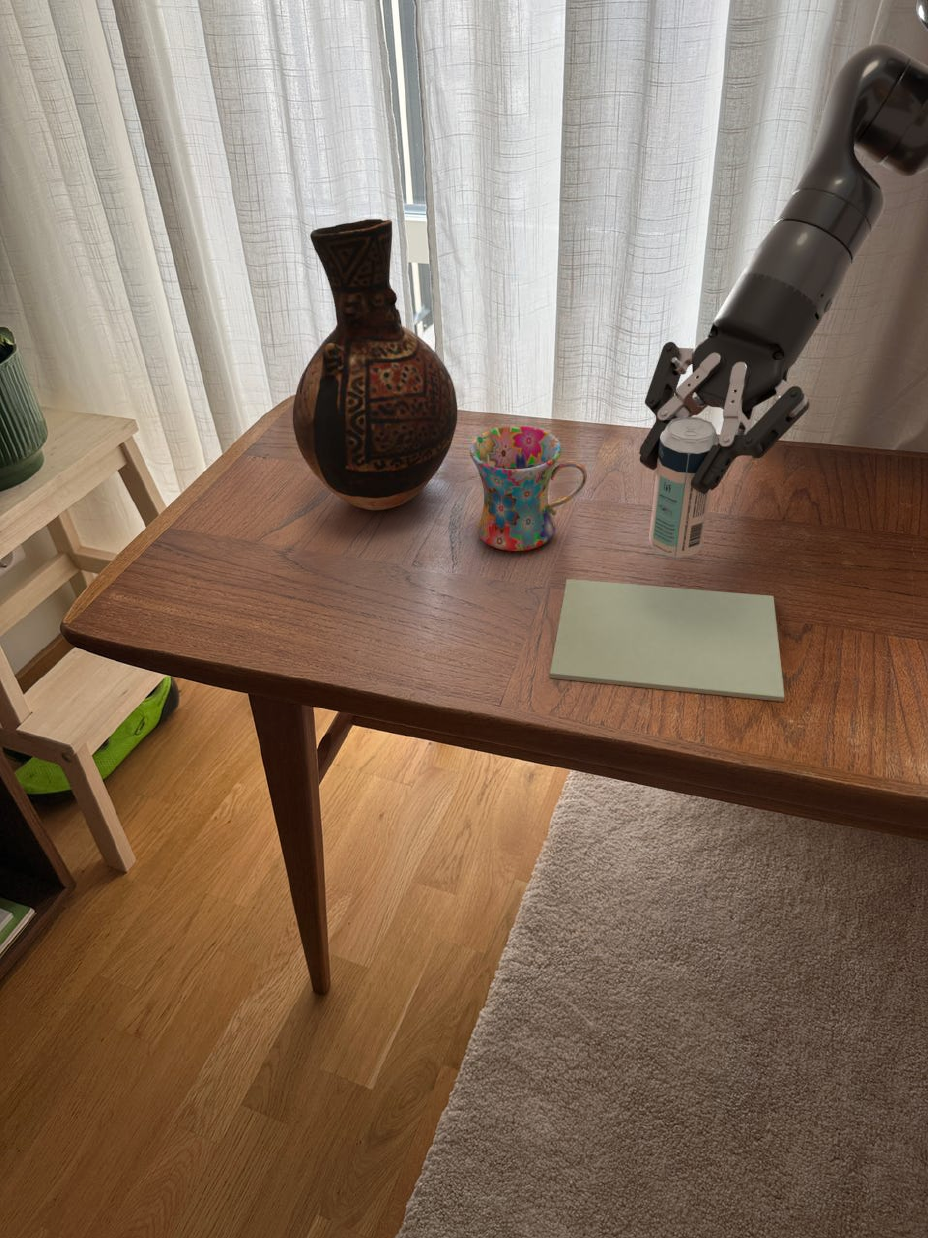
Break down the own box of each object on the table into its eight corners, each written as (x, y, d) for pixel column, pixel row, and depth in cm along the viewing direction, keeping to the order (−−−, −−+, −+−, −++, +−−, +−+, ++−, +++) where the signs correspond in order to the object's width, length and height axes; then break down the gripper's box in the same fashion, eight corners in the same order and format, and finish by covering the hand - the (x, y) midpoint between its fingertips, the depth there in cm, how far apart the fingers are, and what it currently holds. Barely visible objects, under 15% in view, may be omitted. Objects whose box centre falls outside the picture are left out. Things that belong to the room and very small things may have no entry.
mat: (772, 600, 86) (773, 595, 85) (783, 702, 75) (784, 697, 75) (566, 583, 89) (566, 578, 89) (549, 678, 79) (549, 673, 79)
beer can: (702, 534, 82) (721, 415, 74) (701, 564, 78) (720, 443, 71) (650, 529, 83) (663, 412, 75) (646, 559, 79) (659, 439, 72)
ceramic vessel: (412, 554, 94) (383, 267, 75) (274, 523, 100) (214, 249, 81) (487, 460, 109) (479, 199, 90) (363, 438, 115) (330, 189, 96)
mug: (465, 555, 94) (461, 467, 87) (482, 507, 101) (479, 423, 94) (579, 564, 92) (583, 475, 85) (587, 515, 99) (592, 429, 92)
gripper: (694, 251, 74) (588, 431, 76) (851, 293, 65) (727, 495, 67) (724, 297, 80) (625, 463, 82) (871, 341, 71) (757, 525, 73)
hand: (672, 476), depth 75 cm, fingers closed on beer can, 5 cm apart
